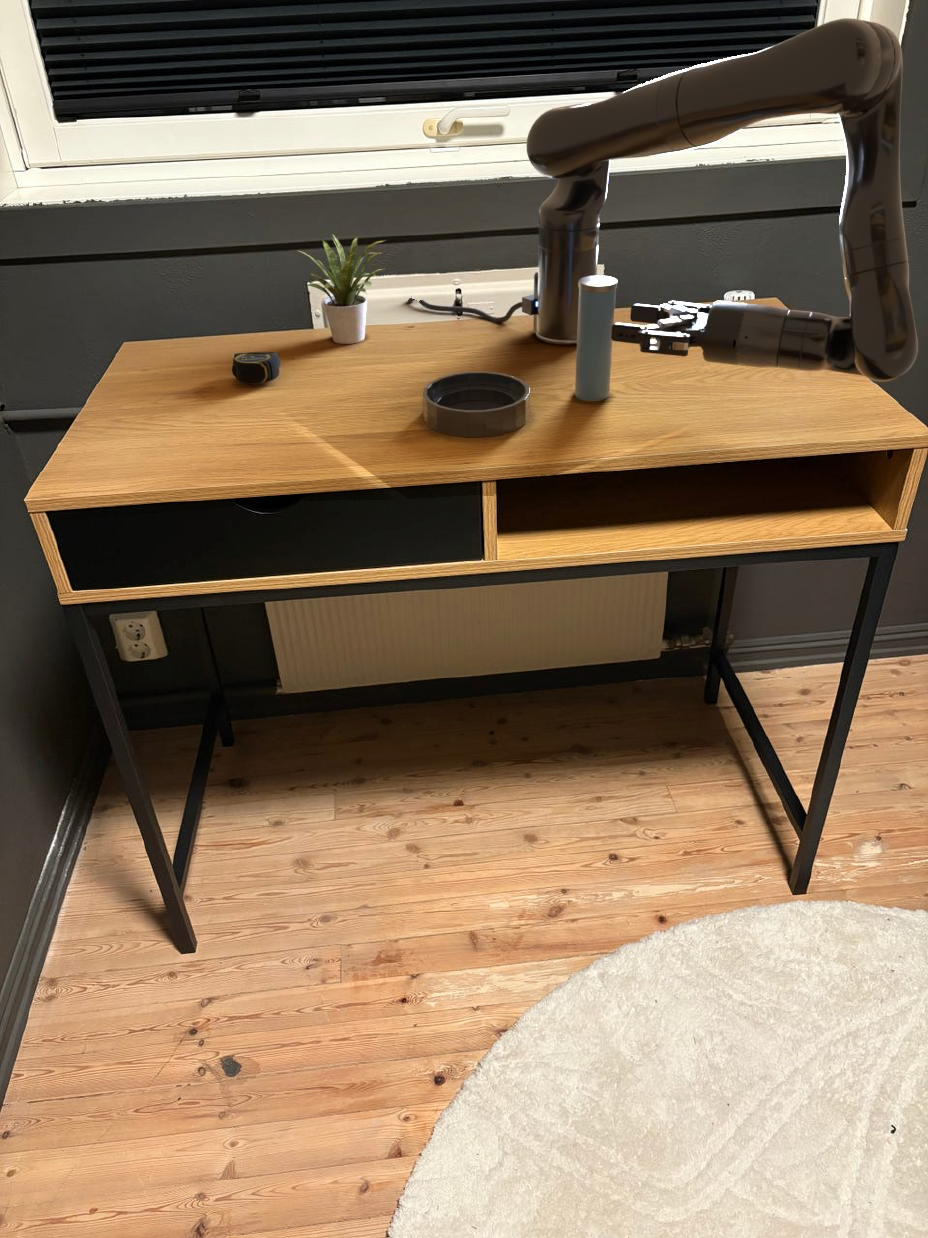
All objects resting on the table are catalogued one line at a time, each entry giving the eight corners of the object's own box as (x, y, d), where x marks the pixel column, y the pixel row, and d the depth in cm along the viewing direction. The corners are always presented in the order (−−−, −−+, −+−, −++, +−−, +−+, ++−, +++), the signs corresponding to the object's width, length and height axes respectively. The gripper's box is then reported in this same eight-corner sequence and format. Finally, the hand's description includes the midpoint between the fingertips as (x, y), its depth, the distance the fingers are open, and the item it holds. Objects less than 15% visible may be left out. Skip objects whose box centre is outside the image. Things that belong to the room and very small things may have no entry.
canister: (566, 396, 132) (570, 280, 123) (593, 387, 135) (599, 273, 125) (590, 406, 129) (596, 288, 120) (617, 398, 131) (625, 281, 122)
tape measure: (282, 371, 144) (279, 347, 141) (278, 387, 138) (275, 362, 136) (237, 373, 143) (233, 349, 141) (231, 390, 138) (227, 365, 135)
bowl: (404, 415, 128) (402, 387, 126) (487, 390, 135) (487, 363, 132) (464, 450, 119) (463, 421, 116) (551, 422, 125) (551, 393, 123)
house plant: (416, 333, 156) (410, 229, 147) (365, 358, 147) (356, 249, 138) (348, 320, 163) (339, 220, 153) (296, 344, 153) (282, 239, 144)
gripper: (761, 289, 122) (639, 278, 127) (739, 322, 111) (607, 308, 117) (752, 346, 126) (634, 333, 132) (730, 383, 115) (603, 367, 121)
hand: (621, 321), depth 124 cm, fingers open, 8 cm apart
